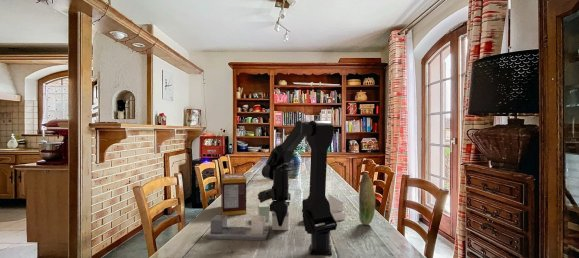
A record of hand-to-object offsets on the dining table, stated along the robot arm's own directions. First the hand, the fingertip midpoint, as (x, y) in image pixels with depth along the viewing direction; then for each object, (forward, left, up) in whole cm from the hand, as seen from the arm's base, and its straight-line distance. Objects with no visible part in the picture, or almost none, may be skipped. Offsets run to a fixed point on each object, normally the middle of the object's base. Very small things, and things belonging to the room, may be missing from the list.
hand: (280, 224), depth 109 cm
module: (0, 0, -2) cm, 2 cm away
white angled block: (+13, -22, -2) cm, 26 cm away
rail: (-8, +14, -2) cm, 16 cm away
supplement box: (+23, +24, -2) cm, 33 cm away
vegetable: (+6, -33, -2) cm, 34 cm away
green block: (+10, +8, -2) cm, 13 cm away
